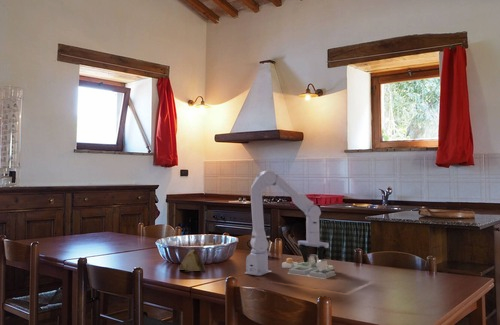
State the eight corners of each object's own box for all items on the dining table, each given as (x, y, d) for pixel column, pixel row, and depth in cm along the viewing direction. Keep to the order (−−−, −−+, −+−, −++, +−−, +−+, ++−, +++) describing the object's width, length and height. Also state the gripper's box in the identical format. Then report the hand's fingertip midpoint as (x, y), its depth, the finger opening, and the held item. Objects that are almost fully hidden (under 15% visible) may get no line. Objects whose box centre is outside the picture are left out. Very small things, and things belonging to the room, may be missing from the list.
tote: (324, 274, 194) (323, 268, 194) (293, 269, 203) (293, 264, 204) (333, 270, 201) (333, 265, 201) (303, 266, 210) (303, 262, 210)
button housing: (291, 269, 204) (291, 264, 204) (281, 268, 207) (281, 262, 207) (297, 268, 208) (297, 262, 208) (288, 266, 211) (288, 261, 211)
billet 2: (324, 276, 185) (323, 261, 185) (315, 275, 188) (315, 260, 188) (328, 275, 188) (328, 259, 189) (320, 273, 191) (320, 258, 191)
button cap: (290, 266, 205) (290, 259, 205) (285, 265, 207) (285, 258, 207) (293, 265, 207) (293, 258, 208) (288, 264, 209) (288, 257, 209)
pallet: (324, 280, 182) (324, 274, 182) (286, 275, 193) (286, 269, 193) (336, 276, 189) (336, 270, 190) (299, 271, 201) (299, 265, 201)
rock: (172, 266, 202) (186, 266, 195) (180, 249, 207) (194, 248, 200) (188, 278, 208) (203, 278, 201) (196, 261, 212) (210, 260, 205)
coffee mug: (270, 254, 244) (270, 235, 245) (269, 257, 236) (269, 237, 236) (248, 254, 245) (248, 235, 246) (246, 257, 237) (246, 237, 237)
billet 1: (314, 270, 199) (314, 256, 199) (306, 269, 202) (306, 255, 202) (319, 269, 202) (319, 254, 203) (311, 268, 205) (311, 253, 205)
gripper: (331, 232, 201) (332, 263, 201) (303, 230, 210) (303, 259, 210) (324, 233, 196) (324, 265, 195) (295, 231, 205) (295, 262, 204)
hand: (313, 263), depth 202 cm, fingers open, 7 cm apart
